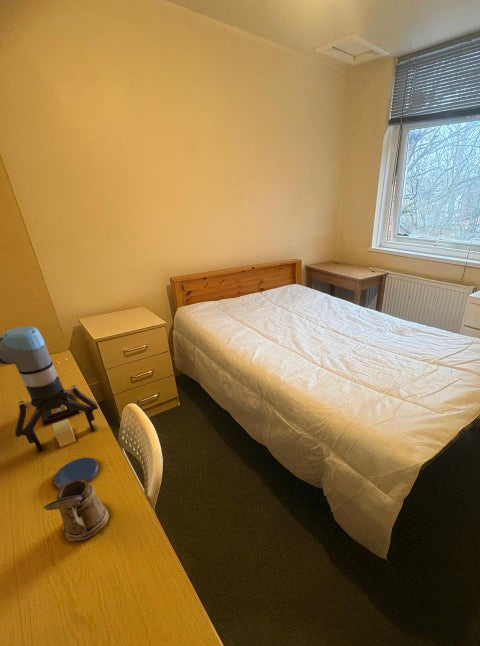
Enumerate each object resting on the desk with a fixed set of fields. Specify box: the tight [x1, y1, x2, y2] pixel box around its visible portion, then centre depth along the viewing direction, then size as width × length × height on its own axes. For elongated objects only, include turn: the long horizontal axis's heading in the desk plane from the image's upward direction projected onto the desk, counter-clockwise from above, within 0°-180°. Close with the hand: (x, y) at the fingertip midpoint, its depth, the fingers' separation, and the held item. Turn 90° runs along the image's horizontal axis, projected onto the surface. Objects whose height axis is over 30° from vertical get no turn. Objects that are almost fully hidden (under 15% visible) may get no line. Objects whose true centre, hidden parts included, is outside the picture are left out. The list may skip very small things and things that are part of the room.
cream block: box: [50, 405, 67, 414], centre depth 107 cm, size 4×4×3 cm
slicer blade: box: [47, 408, 71, 420], centre depth 105 cm, size 16×6×2 cm
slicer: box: [40, 375, 80, 426], centre depth 110 cm, size 16×10×14 cm, turn 40°
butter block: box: [51, 418, 77, 448], centre depth 98 cm, size 4×6×5 cm, turn 40°
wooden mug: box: [43, 479, 110, 542], centre depth 69 cm, size 9×14×18 cm, turn 27°
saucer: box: [53, 457, 100, 490], centre depth 87 cm, size 10×10×1 cm
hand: (67, 438), depth 99 cm, fingers open, 13 cm apart
